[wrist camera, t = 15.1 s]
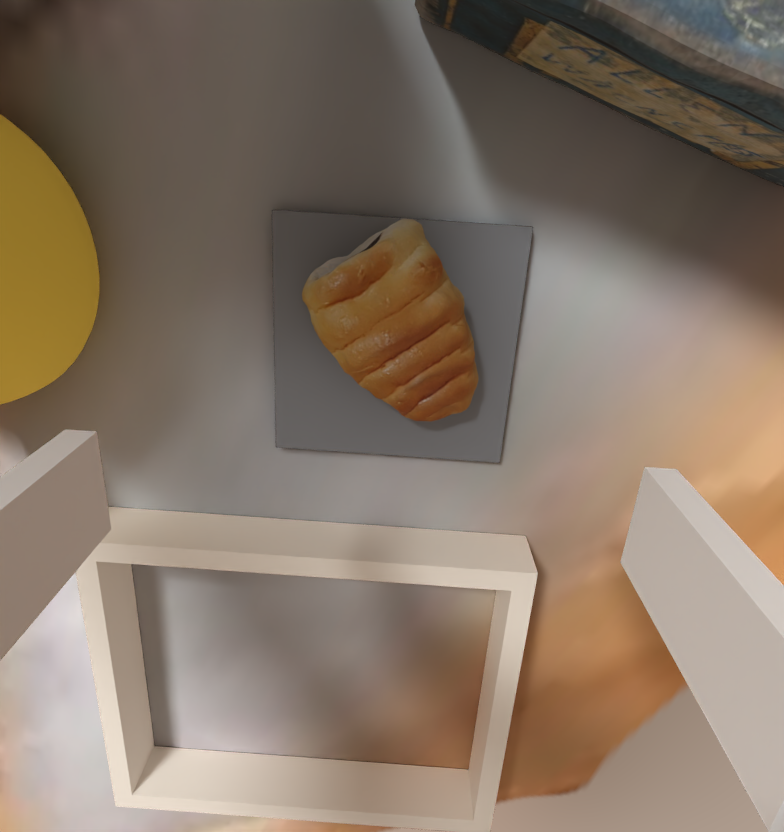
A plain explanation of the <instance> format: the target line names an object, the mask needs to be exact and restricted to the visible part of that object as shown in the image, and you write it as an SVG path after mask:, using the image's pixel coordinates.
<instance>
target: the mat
mask: <svg viewBox="0 0 784 832" xmlns="http://www.w3.org/2000/svg"><path fill="white" fill-rule="evenodd" d="M401 219H408V218H393V217H377V216H362V215H347V214H331V213H316V212H300V211H285V210H272V239H273V303H274V366H275V429H276V447H279V448H294V449H308V450H323V451H337V452H352V453H366V454H381V455H395V456H410V457H424V458H439V459H453V460H468V461H482V462H497V463H500V456H501V449H502V442H503V435H504V428H505V421H506V414H507V407H508V400H509V393H510V386H511V379H512V372H513V365H514V358H515V351H516V344H517V337H518V330H519V322H520V315H521V308H522V301H523V294H524V287H525V280H526V273H527V266H528V259H529V252H530V245H531V238H532V231H533V227H531V226H517V225H501V224H486V223H470V222H455V221H439V220H424V219H413V220H415V221H417V222H419V223H420V224H421V225H422V227H423V230H424V234H425V238H426V239H427V241H428V242H429V244H430V246H431V247H432V248H433V249H434V250H435V252H436V254H437V255H438V257H439V258H440V260H441V262H442V266H443V268H444V269H445V271H446V273H447V275H448V277H449V279H450V281H451V283H452V284H453V285H454V286H456V287H457V288H458V289H459V290H460V292H461V293H462V295H463V296H464V303H465V306H464V314H465V317H466V321H467V323H468V325H469V328H470V330H471V334H472V337H473V340H474V351H475V359H474V360H475V363H476V367H477V372H478V378H479V379H478V384H477V387H476V389H475V391H474V395H473V397H472V400H471V403H470V405H469V407H468V408H467V409H466V410H465V411H463V412H461V413H457V414H451V415H449V416H447V417H445V418H442V419H439V420H435V421H431V422H429V421H414V420H412V419H409V418H406V417H404V416H402V415H401V414H400V413H399V411H397V410H396V409H395V408H393V407H392V406H391V405H390V404H388V403H386V402H384V401H383V400H381V399H378V398H376V397H375V396H374V395H373V394H372V393H371V392H370V391H368V390H367V389H365V388H363V387H361V386H360V385H359V384H358V383H357V382H356V381H355V380H354V379H353V378H352V377H351V376H350V375H349V374H347V373H345V372H344V370H343V369H342V367H341V366H340V364H339V362H338V361H337V359H336V358H335V357H334V356H333V355H332V354H331V352H330V351H329V350H328V349H327V348H326V347H325V346H324V345H323V343H322V341H321V339H320V338H319V337H318V335H317V333H316V331H315V329H314V326H313V324H312V322H311V315H310V312H309V310H308V307H307V305H306V304H305V302H304V301H303V299H302V291H303V288H304V285H305V283H306V281H307V279H308V278H309V276H310V274H311V273H312V272H313V271H314V270H315V269H316V268H318V267H320V266H321V265H323V264H324V263H325V262H326V261H328V260H330V259H333V258H337V257H344V256H348V255H349V254H350V253H351V252H352V251H354V250H355V249H356V248H357V247H358V246H359V245H361V244H363V243H364V242H365V241H366V240H367V239H368V238H369V237H371V236H373V235H374V234H376V233H378V232H380V231H382V230H384V229H386V228H388V227H389V226H390V225H392V224H394V223H396V222H397V221H399V220H401Z"/></svg>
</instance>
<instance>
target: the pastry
mask: <svg viewBox="0 0 784 832" xmlns="http://www.w3.org/2000/svg"><path fill="white" fill-rule="evenodd" d="M302 299H303V301H304V302H305V304H306V305H307V307H308V310H309V312H310V315H311V322H312V324H313V326H314V329H315V331H316V333H317V335H318V337H319V338H320V339H321V341H322V343H323V345H324V346H325V347H326V348H327V349H328V350H329V351H330V352H331V354H332V355H333V356H334V357H335V358H336V359H337V361H338V362H339V364H340V366H341V367H342V369H343V370H344V372H345V373H347V374H349V375H350V376H351V377H352V378H353V379H354V380H355V381H356V382H357V383H358V384H359V385H360V386H361V387H363V388H365V389H367V390H368V391H370V392H371V393H372V394H373V395H374V396H375V397H376V398H378V399H381V400H383V401H384V402H386V403H388V404H390V405H391V406H392V407H393V408H395V409H396V410H397V411H399V413H400V414H401V415H402V416H404V417H406V418H409V419H412V420H414V421H429V422H431V421H435V420H439V419H442V418H445V417H447V416H449V415H451V414H457V413H461V412H463V411H465V410H466V409H467V408H468V407H469V405H470V403H471V400H472V397H473V395H474V391H475V389H476V387H477V384H478V379H479V378H478V372H477V367H476V363H475V360H474V359H475V351H474V340H473V337H472V334H471V330H470V328H469V325H468V323H467V321H466V317H465V314H464V306H465V303H464V296H463V295H462V293H461V292H460V290H459V289H458V288H457V287H456V286H454V285H453V284H452V283H451V281H450V279H449V277H448V275H447V273H446V271H445V269H444V268H443V266H442V262H441V260H440V258H439V257H438V255H437V254H436V252H435V250H434V249H433V248H432V247H431V246H430V244H429V242H428V241H427V239H426V238H425V234H424V230H423V227H422V225H421V224H420V223H419V222H417V221H415V220H413V219H401V220H399V221H397V222H396V223H394V224H392V225H390V226H389V227H388V228H386V229H384V230H382V231H380V232H378V233H376V234H374V235H373V236H371V237H369V238H368V239H367V240H366V241H365V242H364V243H363V244H361V245H359V246H358V247H357V248H356V249H355V250H354V251H352V252H351V253H350V254H349V255H348V256H344V257H337V258H333V259H330V260H328V261H326V262H325V263H324V264H323V265H321V266H320V267H318V268H316V269H315V270H314V271H313V272H312V273H311V274H310V276H309V278H308V279H307V281H306V283H305V285H304V288H303V291H302Z"/></svg>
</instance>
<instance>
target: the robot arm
mask: <svg viewBox="0 0 784 832" xmlns="http://www.w3.org/2000/svg"><path fill="white" fill-rule="evenodd" d="M110 530H111V523H110V516H109V509H108V503H107V496H106V489H105V482H104V475H103V469H102V462H101V455H100V448H99V442H98V435H97V431H82V430H66V429H65V430H64V431H62V432H61V433H60V434H58V435H57V436H55V437H54V438H53V439H51V440H50V441H49V442H47V443H46V444H45V445H43V446H42V447H40V448H39V449H38V450H36V451H35V452H34V453H32V454H31V455H30V456H28V457H27V458H25V459H24V460H23V461H21V462H20V463H19V464H17V465H16V466H15V467H13V468H12V469H10V470H9V471H8V472H6V473H5V474H4V475H2V476H1V477H0V661H1V659H2V658H3V657H4V656H5V655H6V653H7V652H8V651H9V650H10V649H11V647H12V646H13V645H14V644H15V643H16V642H17V640H18V639H19V638H20V637H21V636H22V634H23V633H24V632H25V631H26V630H27V629H28V627H29V626H30V625H31V624H32V623H33V621H34V620H35V619H36V618H37V617H38V616H39V614H40V613H41V612H42V611H43V610H44V608H45V607H46V606H47V605H48V604H49V602H50V601H51V600H52V599H53V598H54V597H55V595H56V594H57V593H58V592H59V591H60V589H61V588H62V587H63V586H64V585H65V584H66V582H67V581H68V580H69V579H70V578H71V576H72V575H73V574H74V573H75V572H76V571H77V569H78V568H79V567H80V566H81V565H82V563H83V562H84V561H85V560H86V559H87V558H88V556H89V555H90V554H91V553H92V552H93V550H94V549H95V548H96V547H97V546H98V544H99V543H100V542H101V541H102V540H103V539H104V537H105V536H106V535H107V534H108V533H109V531H110ZM621 564H622V566H623V568H624V570H625V572H626V573H627V575H628V577H629V579H630V581H631V582H632V584H633V586H634V588H635V590H636V592H637V593H638V595H639V597H640V599H641V601H642V602H643V604H644V606H645V608H646V610H647V612H648V613H649V615H650V617H651V619H652V621H653V623H654V624H655V626H656V628H657V630H658V632H659V633H660V635H661V637H662V639H663V641H664V643H665V644H666V646H667V648H668V650H669V652H670V653H671V655H672V657H673V659H674V661H675V663H676V664H677V666H678V668H679V670H680V672H681V673H682V675H683V677H684V679H685V681H686V683H687V684H688V686H689V688H690V690H691V692H692V693H693V695H694V697H695V699H696V701H697V703H698V704H699V706H700V708H701V710H702V712H703V713H704V715H705V717H706V719H707V721H708V723H709V724H710V726H711V728H712V730H713V732H714V733H715V735H716V737H717V739H718V741H719V743H720V744H721V746H722V748H723V750H724V752H725V753H726V755H727V757H728V759H729V761H730V763H731V764H732V766H733V768H734V770H735V772H736V773H737V775H738V777H739V779H740V781H741V783H742V784H743V786H744V788H745V790H746V792H747V793H748V795H749V797H750V799H751V801H752V803H753V804H754V806H755V808H756V810H757V812H758V813H759V815H760V817H761V819H762V821H763V823H764V824H765V826H766V828H767V830H768V832H784V586H783V584H782V583H781V582H780V581H779V580H778V579H777V578H776V577H775V576H774V575H773V574H772V573H771V571H770V570H769V569H768V568H767V567H766V566H765V565H764V564H763V563H762V562H761V561H760V559H759V558H758V557H757V556H756V555H755V554H754V553H753V552H752V551H751V550H750V549H749V547H748V546H747V545H746V544H745V543H744V542H743V541H742V540H741V539H740V538H739V537H738V535H737V534H736V533H735V532H734V531H733V530H732V529H731V528H730V527H729V526H728V525H727V523H726V522H725V521H724V520H723V519H722V518H721V517H720V516H719V515H718V514H717V513H716V511H715V510H714V509H713V508H712V507H711V506H710V505H709V504H708V503H707V502H706V501H705V500H704V498H703V497H702V496H701V495H700V494H699V493H698V492H697V491H696V490H695V489H694V488H693V486H692V485H691V484H690V483H689V482H688V481H687V480H686V479H685V478H684V477H683V476H682V474H681V473H680V472H679V471H678V470H677V469H667V468H651V467H644V471H643V475H642V479H641V483H640V487H639V491H638V495H637V499H636V503H635V507H634V511H633V515H632V519H631V523H630V527H629V531H628V535H627V539H626V542H625V546H624V550H623V554H622V558H621Z"/></svg>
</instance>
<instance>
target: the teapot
mask: <svg viewBox="0 0 784 832" xmlns="http://www.w3.org/2000/svg"><path fill="white" fill-rule="evenodd" d="M98 301H99V268H98V260H97V253H96V249H95V245H94V241H93V237H92V233H91V230H90V228H89V225H88V222H87V220H86V217H85V214H84V212H83V210H82V208H81V206H80V204H79V202H78V200H77V198H76V196H75V194H74V192H73V190H72V189H71V187H70V186H69V184H68V183H67V181H66V180H65V178H64V176H63V175H62V173H61V172H60V171H59V169H58V168H57V167H56V166H55V164H54V163H53V162H52V161H51V159H50V158H49V157H48V156H47V155H46V153H45V152H44V151H43V150H42V149H41V148H40V147H39V146H38V145H37V144H36V143H35V142H34V141H33V140H32V139H31V138H30V137H29V136H28V135H26V134H25V133H24V132H23V131H21V130H20V129H19V128H18V127H16V126H15V125H14V124H13V123H11V122H10V121H9V120H8V119H7V118H5V117H4V116H2V115H1V114H0V404H4V403H8V402H11V401H14V400H17V399H19V398H22V397H25V396H27V395H29V394H31V393H34V392H36V391H38V390H40V389H41V388H43V387H45V386H47V385H49V384H50V383H52V382H53V381H54V380H56V379H57V378H58V377H60V376H61V375H62V374H63V373H64V372H65V371H66V370H67V369H68V368H69V367H70V366H71V365H72V364H73V363H74V361H75V360H76V358H77V357H78V355H79V354H80V352H81V351H82V350H83V348H84V346H85V343H86V341H87V339H88V337H89V335H90V333H91V331H92V328H93V324H94V321H95V318H96V314H97V309H98Z"/></svg>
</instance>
